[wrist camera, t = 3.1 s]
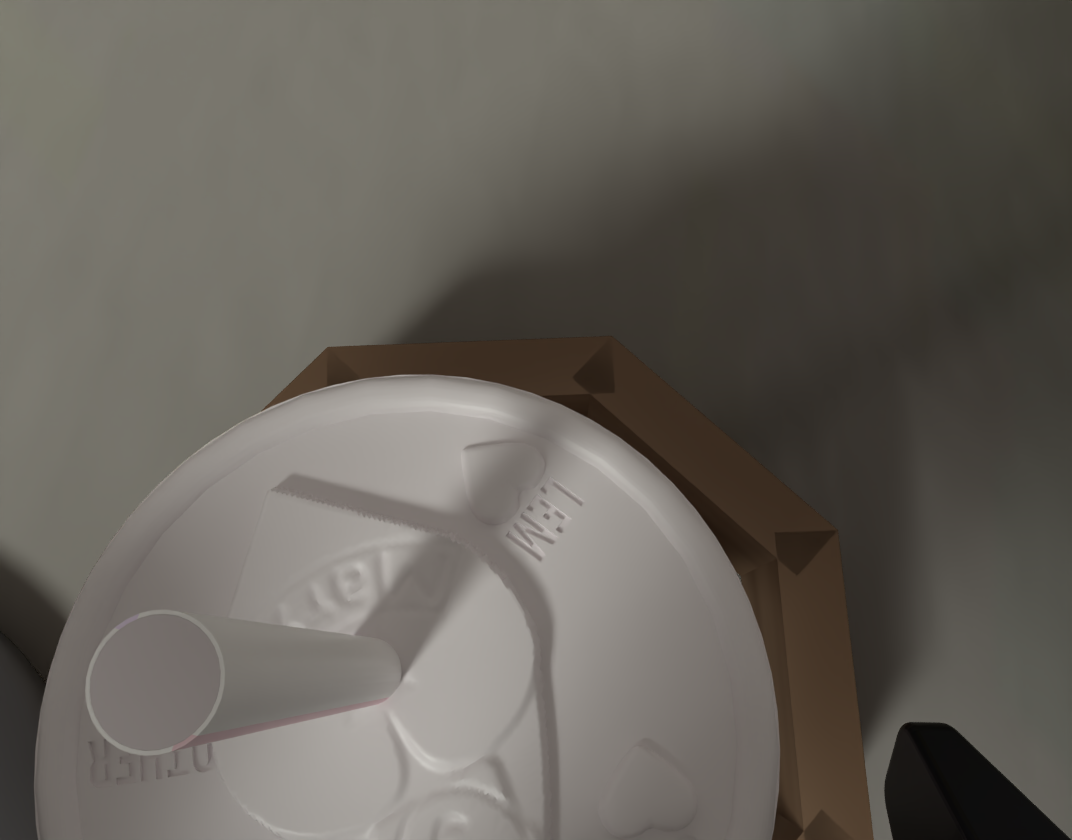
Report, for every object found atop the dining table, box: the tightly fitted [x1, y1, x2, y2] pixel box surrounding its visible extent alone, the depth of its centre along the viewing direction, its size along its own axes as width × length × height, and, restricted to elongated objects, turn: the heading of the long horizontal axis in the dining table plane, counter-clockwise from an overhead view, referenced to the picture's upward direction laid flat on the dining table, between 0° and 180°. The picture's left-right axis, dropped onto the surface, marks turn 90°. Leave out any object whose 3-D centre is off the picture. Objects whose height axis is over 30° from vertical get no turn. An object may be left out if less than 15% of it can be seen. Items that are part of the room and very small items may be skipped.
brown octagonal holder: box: [261, 336, 874, 840], centre depth 16 cm, size 12×12×3 cm
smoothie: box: [34, 375, 780, 840], centre depth 10 cm, size 6×6×14 cm
